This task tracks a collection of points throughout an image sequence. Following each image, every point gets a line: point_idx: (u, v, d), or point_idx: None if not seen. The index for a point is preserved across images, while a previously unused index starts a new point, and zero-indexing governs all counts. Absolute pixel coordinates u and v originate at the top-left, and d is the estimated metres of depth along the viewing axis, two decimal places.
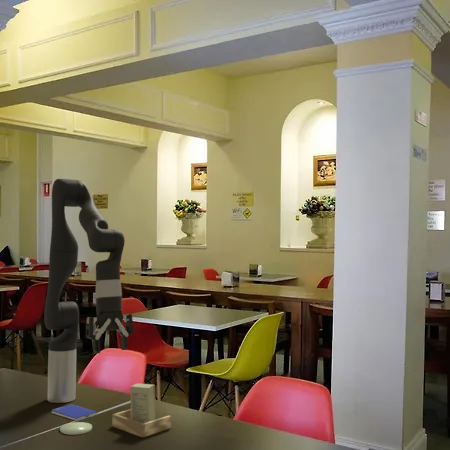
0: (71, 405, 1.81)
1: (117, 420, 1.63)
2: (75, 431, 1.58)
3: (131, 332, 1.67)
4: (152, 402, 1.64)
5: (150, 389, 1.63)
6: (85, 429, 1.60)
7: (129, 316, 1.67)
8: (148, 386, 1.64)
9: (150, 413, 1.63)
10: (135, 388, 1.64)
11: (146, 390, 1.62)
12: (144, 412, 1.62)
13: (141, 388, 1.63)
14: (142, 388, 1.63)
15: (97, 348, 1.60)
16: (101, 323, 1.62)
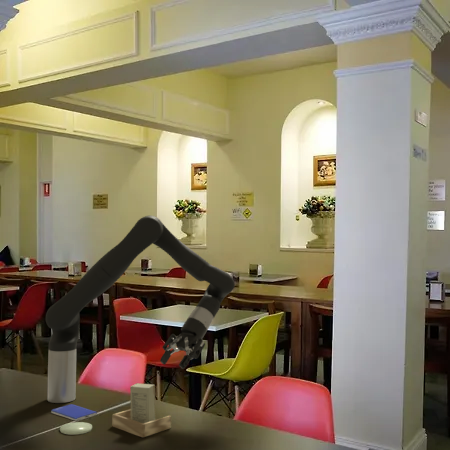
0: (71, 405, 1.81)
1: (117, 420, 1.63)
2: (75, 431, 1.58)
3: None
4: (152, 402, 1.64)
5: (150, 389, 1.63)
6: (85, 429, 1.60)
7: None
8: (148, 386, 1.64)
9: (150, 413, 1.63)
10: (135, 388, 1.64)
11: (146, 390, 1.62)
12: (144, 413, 1.62)
13: (141, 388, 1.63)
14: (142, 388, 1.63)
15: None
16: (193, 346, 1.77)
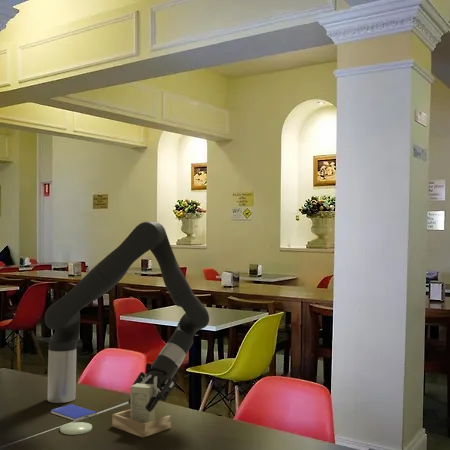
0: (70, 405, 1.81)
1: (117, 420, 1.63)
2: (75, 431, 1.58)
3: None
4: None
5: (150, 389, 1.63)
6: (85, 429, 1.60)
7: None
8: (148, 386, 1.64)
9: (150, 412, 1.63)
10: (135, 388, 1.64)
11: (146, 390, 1.62)
12: (144, 412, 1.62)
13: (141, 388, 1.63)
14: (142, 388, 1.63)
15: None
16: None
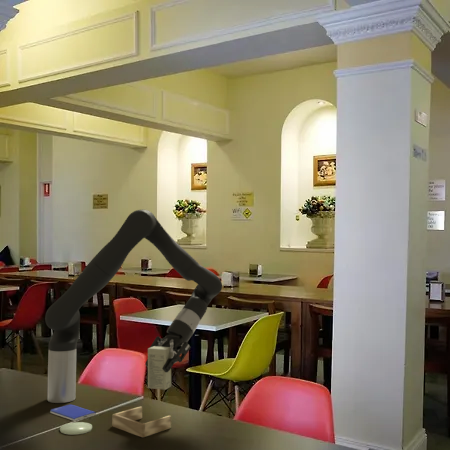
0: (70, 405, 1.81)
1: (117, 420, 1.63)
2: (75, 431, 1.58)
3: None
4: None
5: (167, 351, 1.70)
6: (85, 429, 1.60)
7: None
8: (165, 348, 1.70)
9: (167, 373, 1.70)
10: (152, 350, 1.70)
11: (163, 352, 1.69)
12: (161, 373, 1.69)
13: (158, 350, 1.70)
14: (159, 350, 1.69)
15: None
16: (179, 349, 1.74)
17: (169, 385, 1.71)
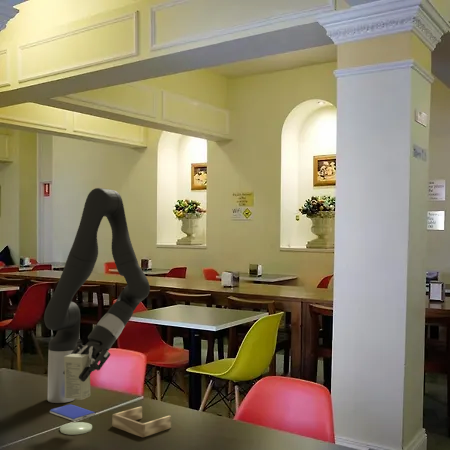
0: (70, 405, 1.81)
1: (117, 420, 1.63)
2: (75, 431, 1.58)
3: None
4: None
5: (84, 359, 1.60)
6: (85, 429, 1.60)
7: None
8: (82, 356, 1.61)
9: (84, 382, 1.60)
10: (69, 358, 1.61)
11: (79, 359, 1.60)
12: (78, 382, 1.60)
13: (75, 358, 1.60)
14: (76, 357, 1.60)
15: None
16: None
17: (87, 395, 1.62)
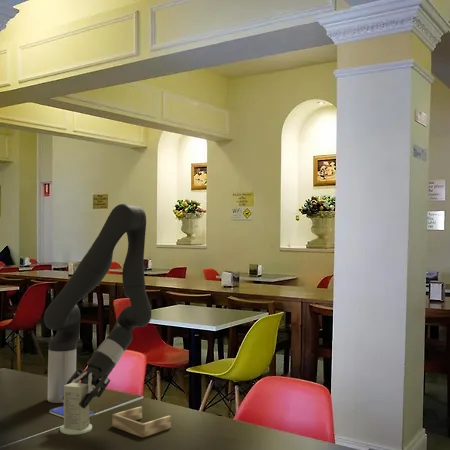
0: None
1: (117, 420, 1.63)
2: (75, 431, 1.58)
3: None
4: None
5: (83, 388, 1.60)
6: (85, 429, 1.60)
7: None
8: (81, 385, 1.61)
9: (83, 412, 1.60)
10: (68, 387, 1.61)
11: (79, 389, 1.60)
12: (77, 412, 1.60)
13: (74, 387, 1.60)
14: (75, 387, 1.60)
15: None
16: None
17: (86, 424, 1.62)
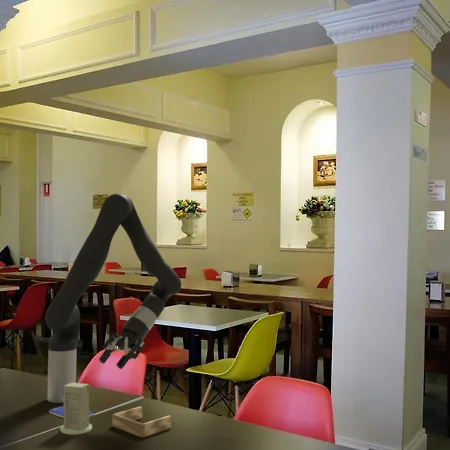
0: None
1: (117, 420, 1.63)
2: (75, 431, 1.58)
3: None
4: (85, 401, 1.61)
5: (83, 388, 1.60)
6: (85, 429, 1.60)
7: None
8: (81, 385, 1.61)
9: (83, 412, 1.60)
10: (68, 387, 1.61)
11: (79, 389, 1.60)
12: (77, 412, 1.60)
13: (74, 387, 1.60)
14: (75, 387, 1.60)
15: None
16: (134, 346, 1.74)
17: (86, 424, 1.62)
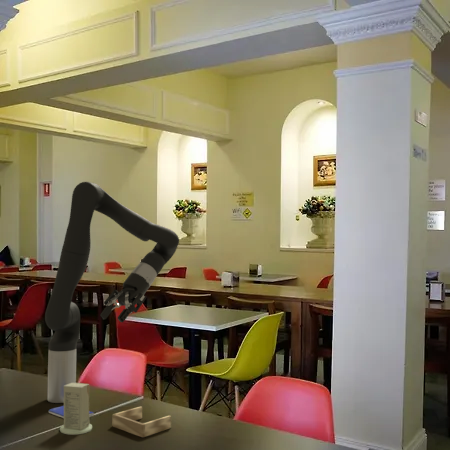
0: None
1: (117, 420, 1.63)
2: (75, 431, 1.58)
3: None
4: (85, 401, 1.61)
5: (83, 388, 1.60)
6: (85, 429, 1.60)
7: None
8: (81, 385, 1.61)
9: (83, 412, 1.60)
10: (68, 387, 1.61)
11: (79, 389, 1.60)
12: (77, 412, 1.60)
13: (74, 387, 1.60)
14: (75, 387, 1.60)
15: (124, 318, 1.70)
16: None
17: (86, 424, 1.62)
